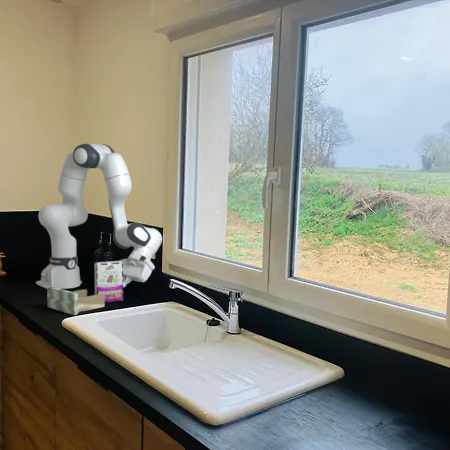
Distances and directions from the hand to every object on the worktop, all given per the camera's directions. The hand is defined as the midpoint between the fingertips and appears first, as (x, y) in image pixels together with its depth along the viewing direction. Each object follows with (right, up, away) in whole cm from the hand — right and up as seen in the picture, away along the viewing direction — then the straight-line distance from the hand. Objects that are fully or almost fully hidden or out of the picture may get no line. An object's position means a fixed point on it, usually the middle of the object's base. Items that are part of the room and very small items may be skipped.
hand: (120, 285), depth 218 cm
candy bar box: (-4, -6, -5) cm, 9 cm away
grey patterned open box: (-14, -7, -16) cm, 22 cm away
